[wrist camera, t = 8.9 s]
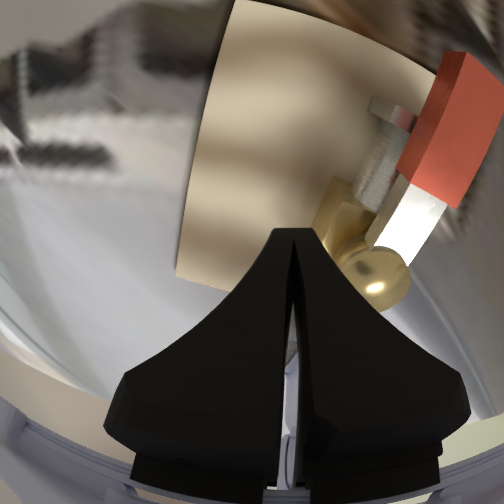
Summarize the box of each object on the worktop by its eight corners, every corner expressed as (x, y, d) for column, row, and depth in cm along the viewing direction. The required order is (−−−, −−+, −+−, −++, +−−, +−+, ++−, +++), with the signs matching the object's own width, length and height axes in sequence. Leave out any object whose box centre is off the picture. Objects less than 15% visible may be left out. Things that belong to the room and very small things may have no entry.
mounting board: (359, 319, 26) (360, 324, 26) (177, 271, 25) (175, 276, 24) (481, 111, 13) (486, 113, 13) (237, 0, 12) (236, -2, 11)
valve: (336, 312, 25) (341, 351, 22) (276, 297, 25) (273, 337, 21) (439, 132, 15) (473, 153, 11) (364, 92, 14) (389, 100, 11)
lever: (376, 295, 18) (383, 320, 16) (319, 278, 17) (322, 304, 16) (492, 92, 9) (516, 100, 7) (433, 44, 8) (456, 44, 7)
